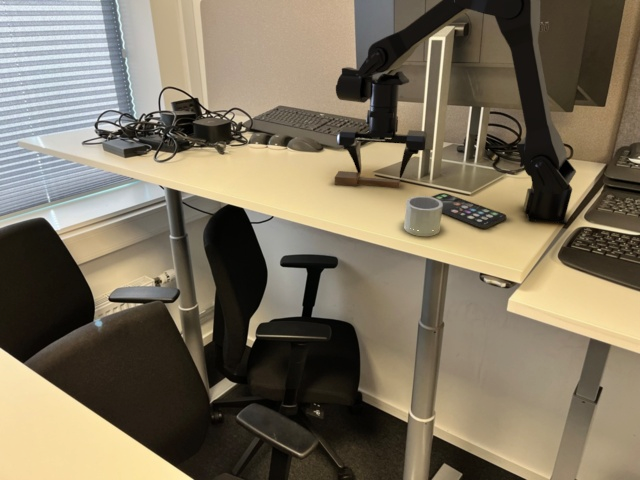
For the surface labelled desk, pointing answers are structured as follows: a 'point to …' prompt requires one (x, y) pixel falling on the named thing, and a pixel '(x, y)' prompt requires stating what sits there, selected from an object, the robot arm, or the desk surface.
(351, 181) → the brown block with handle
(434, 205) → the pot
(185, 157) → the desk surface
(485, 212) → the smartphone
